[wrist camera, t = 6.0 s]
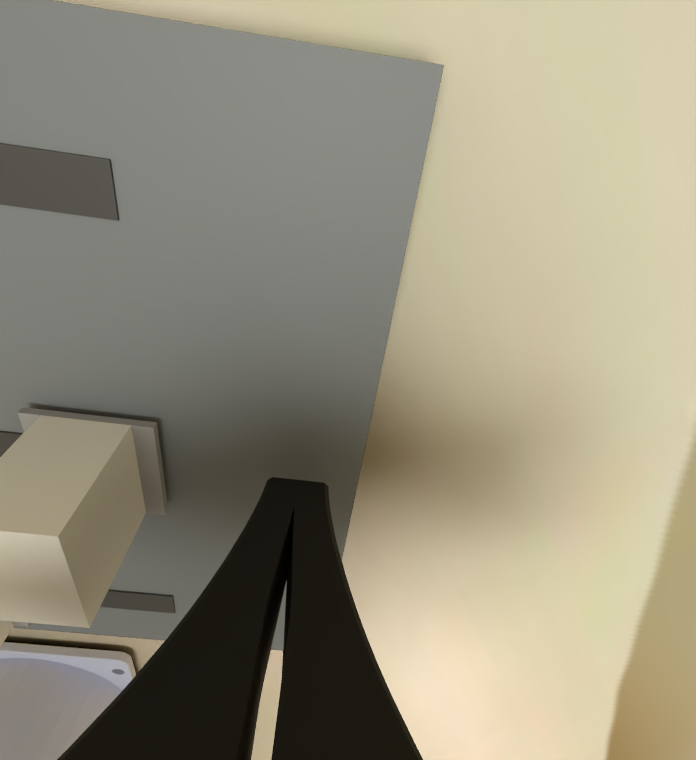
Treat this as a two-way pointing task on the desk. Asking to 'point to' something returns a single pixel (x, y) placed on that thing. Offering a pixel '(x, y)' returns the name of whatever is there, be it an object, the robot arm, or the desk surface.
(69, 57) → the panel
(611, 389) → the desk surface
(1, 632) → the breaker handle
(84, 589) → the block
